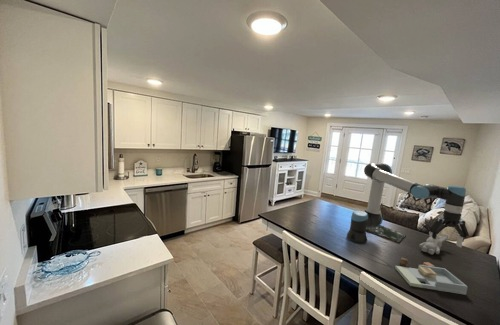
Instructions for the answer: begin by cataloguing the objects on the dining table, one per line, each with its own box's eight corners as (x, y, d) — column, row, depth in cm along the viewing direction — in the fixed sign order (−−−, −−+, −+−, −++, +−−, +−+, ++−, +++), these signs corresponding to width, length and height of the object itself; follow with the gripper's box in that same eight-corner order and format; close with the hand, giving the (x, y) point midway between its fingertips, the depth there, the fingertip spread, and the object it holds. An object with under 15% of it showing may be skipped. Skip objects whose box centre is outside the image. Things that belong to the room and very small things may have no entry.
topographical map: (398, 244, 166) (399, 240, 166) (357, 228, 191) (357, 225, 190) (406, 235, 183) (407, 232, 183) (367, 222, 208) (368, 219, 207)
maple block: (424, 276, 122) (425, 272, 121) (418, 270, 128) (418, 266, 127) (435, 278, 121) (436, 274, 120) (428, 272, 127) (429, 267, 126)
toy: (437, 261, 147) (447, 245, 165) (439, 249, 146) (449, 235, 163) (416, 253, 157) (428, 239, 174) (418, 242, 155) (430, 229, 172)
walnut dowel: (401, 267, 133) (402, 260, 132) (398, 264, 137) (399, 257, 136) (408, 268, 132) (409, 261, 132) (404, 265, 136) (406, 258, 136)
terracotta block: (428, 271, 130) (429, 266, 130) (422, 268, 134) (423, 262, 134) (433, 271, 131) (434, 265, 131) (427, 267, 135) (428, 262, 135)
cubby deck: (410, 285, 116) (411, 277, 115) (395, 268, 132) (396, 261, 131) (465, 294, 112) (467, 286, 111) (443, 275, 127) (444, 268, 127)
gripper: (435, 211, 118) (429, 245, 120) (482, 216, 115) (475, 250, 118) (425, 207, 125) (419, 239, 128) (469, 211, 123) (463, 244, 125)
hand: (446, 245), depth 123 cm, fingers open, 13 cm apart
